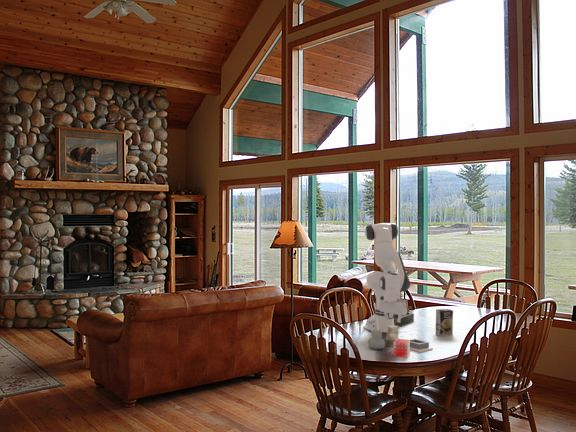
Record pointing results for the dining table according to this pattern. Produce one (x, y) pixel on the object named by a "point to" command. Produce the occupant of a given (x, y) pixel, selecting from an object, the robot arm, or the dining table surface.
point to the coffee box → (444, 322)
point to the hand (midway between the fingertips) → (392, 321)
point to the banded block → (391, 334)
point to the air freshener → (376, 340)
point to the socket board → (419, 345)
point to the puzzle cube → (401, 347)
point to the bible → (404, 318)
